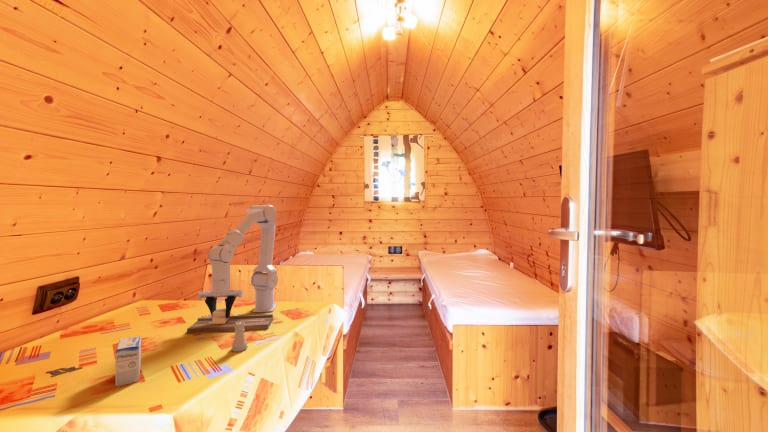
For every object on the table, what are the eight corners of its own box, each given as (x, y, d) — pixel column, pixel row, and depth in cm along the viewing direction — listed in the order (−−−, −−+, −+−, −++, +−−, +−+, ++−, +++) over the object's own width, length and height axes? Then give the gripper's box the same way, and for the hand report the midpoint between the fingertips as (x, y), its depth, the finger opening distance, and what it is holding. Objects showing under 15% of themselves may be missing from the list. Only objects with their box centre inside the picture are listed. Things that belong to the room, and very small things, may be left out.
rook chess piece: (250, 349, 94) (250, 322, 94) (234, 353, 90) (234, 325, 90) (244, 344, 97) (244, 318, 97) (229, 349, 94) (229, 322, 94)
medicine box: (118, 373, 79) (118, 338, 79) (141, 368, 82) (141, 335, 82) (115, 387, 73) (115, 349, 73) (139, 381, 75) (139, 345, 75)
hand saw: (157, 343, 99) (157, 341, 99) (162, 347, 96) (162, 345, 96) (45, 373, 80) (45, 371, 80) (47, 379, 77) (47, 377, 77)
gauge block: (217, 319, 115) (217, 308, 115) (229, 318, 115) (229, 308, 115) (212, 324, 110) (212, 312, 110) (224, 323, 110) (224, 312, 110)
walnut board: (199, 323, 116) (199, 317, 116) (273, 319, 120) (273, 313, 120) (187, 333, 106) (187, 326, 106) (268, 328, 110) (268, 322, 110)
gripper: (194, 282, 108) (194, 322, 108) (239, 280, 110) (239, 319, 110) (202, 278, 114) (202, 315, 114) (244, 277, 117) (244, 313, 117)
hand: (220, 317), depth 113 cm, fingers closed on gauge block, 4 cm apart
